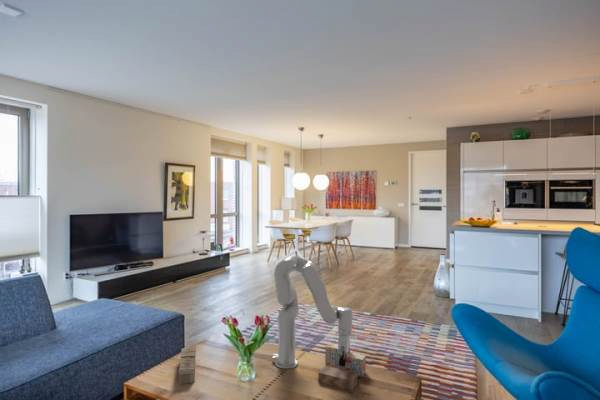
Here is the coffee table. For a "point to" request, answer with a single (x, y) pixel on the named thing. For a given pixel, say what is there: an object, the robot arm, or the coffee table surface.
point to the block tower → (187, 365)
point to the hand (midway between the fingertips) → (344, 362)
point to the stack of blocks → (352, 360)
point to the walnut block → (338, 377)
